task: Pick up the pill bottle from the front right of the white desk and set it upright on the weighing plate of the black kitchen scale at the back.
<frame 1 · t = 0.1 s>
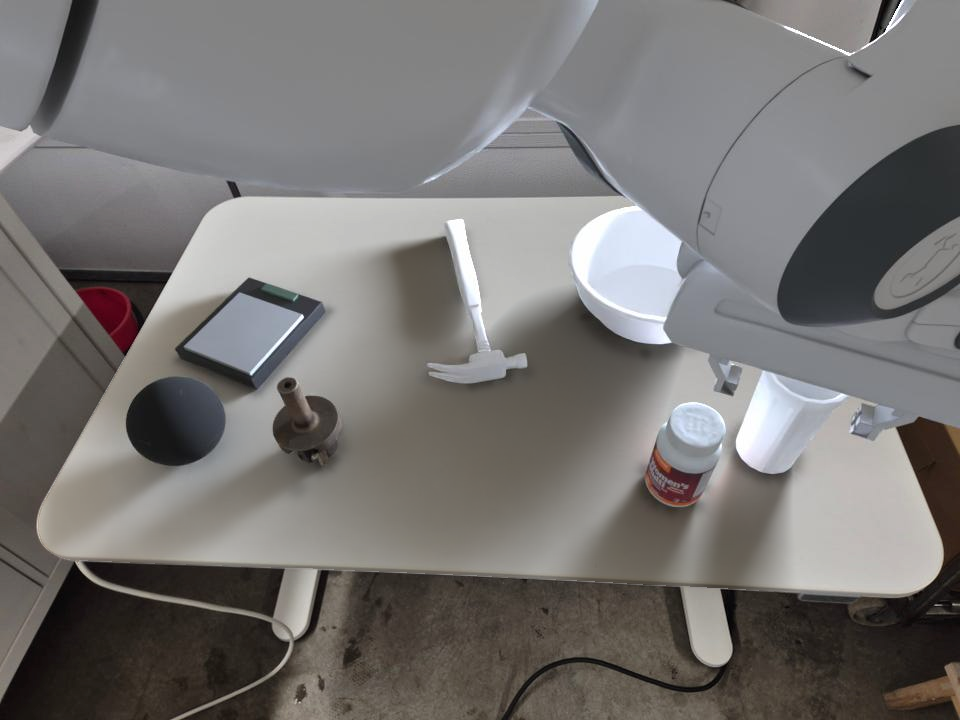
hand: (790, 408, 45), 22 cm above the table, tool pointing down, fingers open, 8 cm apart
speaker: (196, 445, 72), on the table
industrial component: (316, 454, 71), on the table
hammer: (461, 301, 86), on the table
pill bottle: (673, 484, 66), on the table
scale: (254, 334, 83), on the table
cup: (763, 451, 68), on the table
bowl: (647, 307, 83), on the table
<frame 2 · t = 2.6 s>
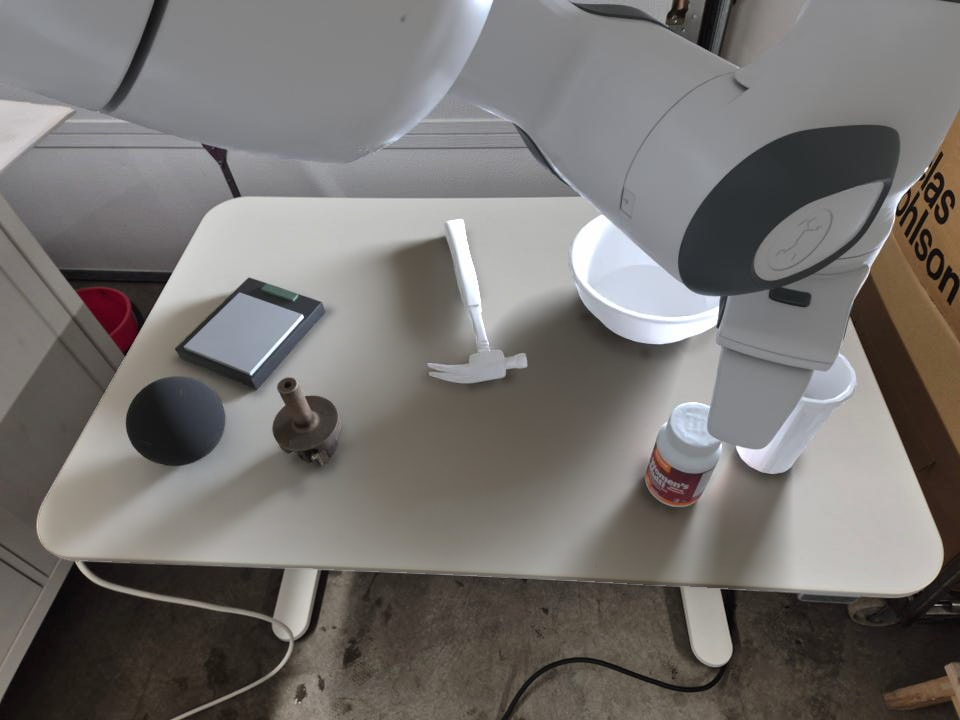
hand: (734, 381, 50), 20 cm above the table, tool pointing down, fingers open, 8 cm apart
nothing on the table moved.
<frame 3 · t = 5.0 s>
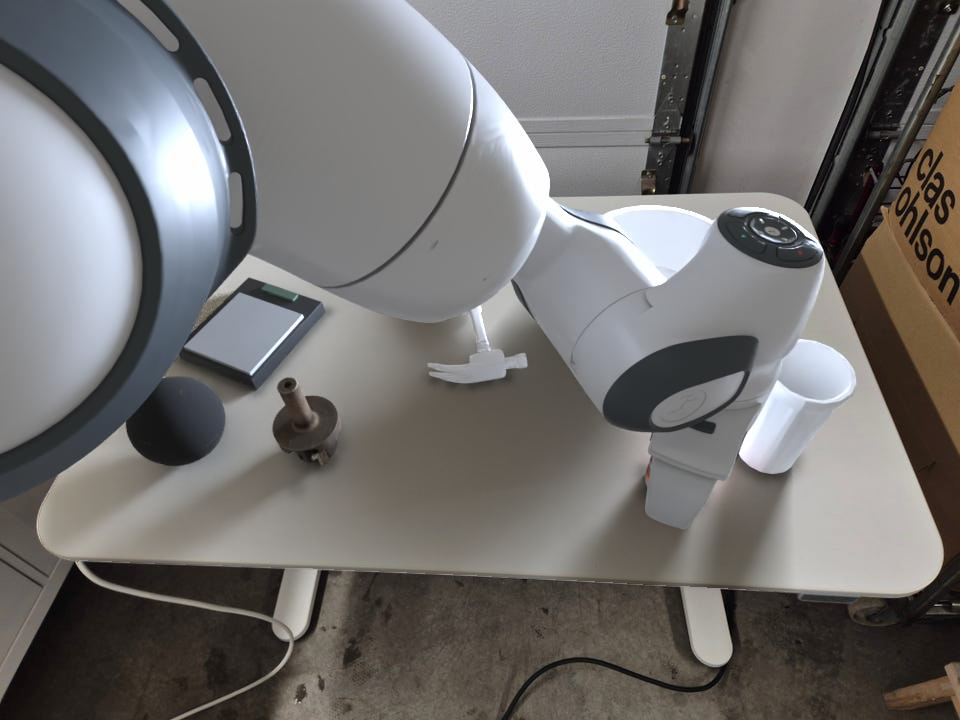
hand: (680, 463, 63), 4 cm above the table, tool pointing down, fingers closed on pill bottle, 6 cm apart
pill bottle: (673, 484, 66), on the table, touching gripper
everything else where it was.
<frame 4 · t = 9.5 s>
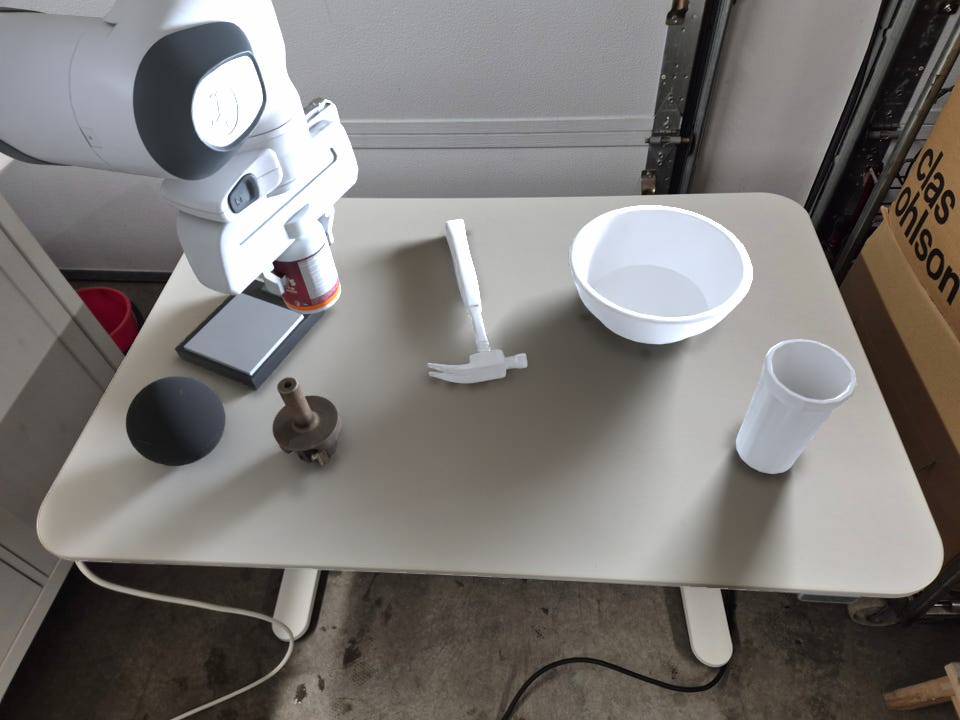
hand: (302, 266, 63), 19 cm above the table, tool pointing down, fingers closed on pill bottle, 6 cm apart
pill bottle: (314, 297, 66), point 15 cm above the table, touching gripper
everything else where it was.
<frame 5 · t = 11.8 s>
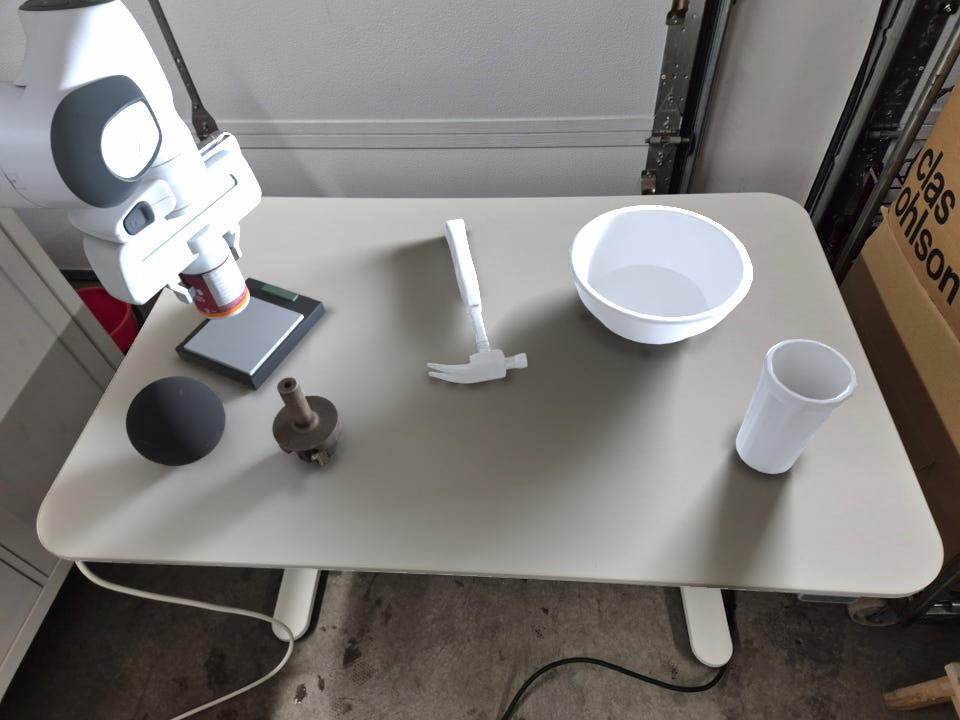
hand: (211, 278, 71), 14 cm above the table, tool pointing down, fingers closed on pill bottle, 6 cm apart
pill bottle: (226, 304, 74), point 9 cm above the table, touching gripper
everything else where it was.
when the fingers open (7 cm above the table, at t = 14.0 s): pill bottle stays where it is, resting on scale.
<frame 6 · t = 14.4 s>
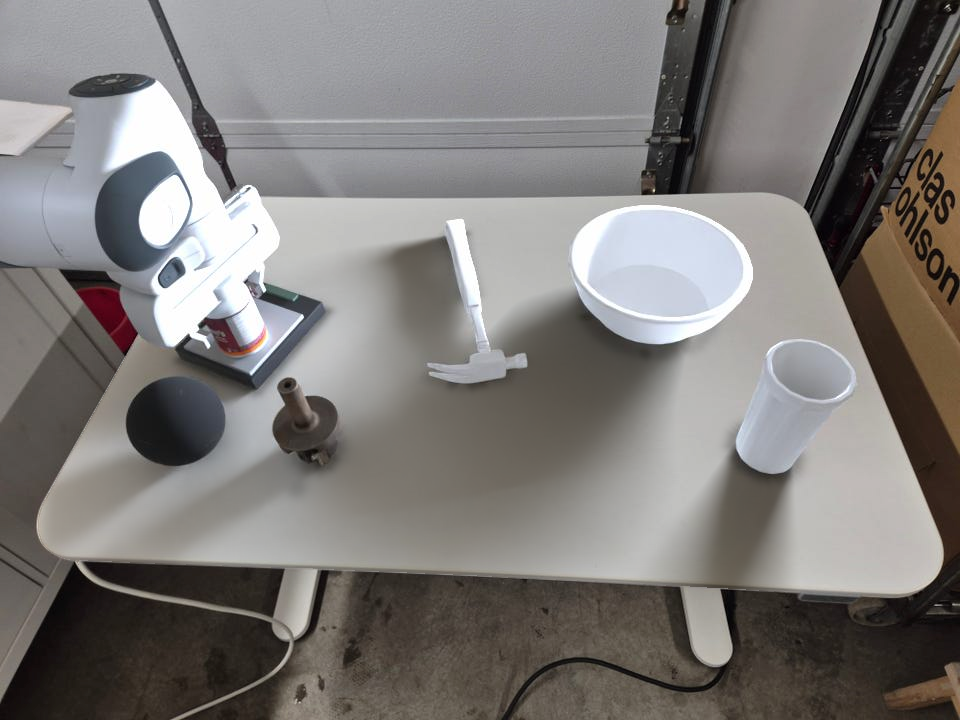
hand: (233, 318, 76), 7 cm above the table, tool pointing down, fingers open, 8 cm apart
pill bottle: (245, 342, 79), point 2 cm above the table, touching scale
everything else where it was.
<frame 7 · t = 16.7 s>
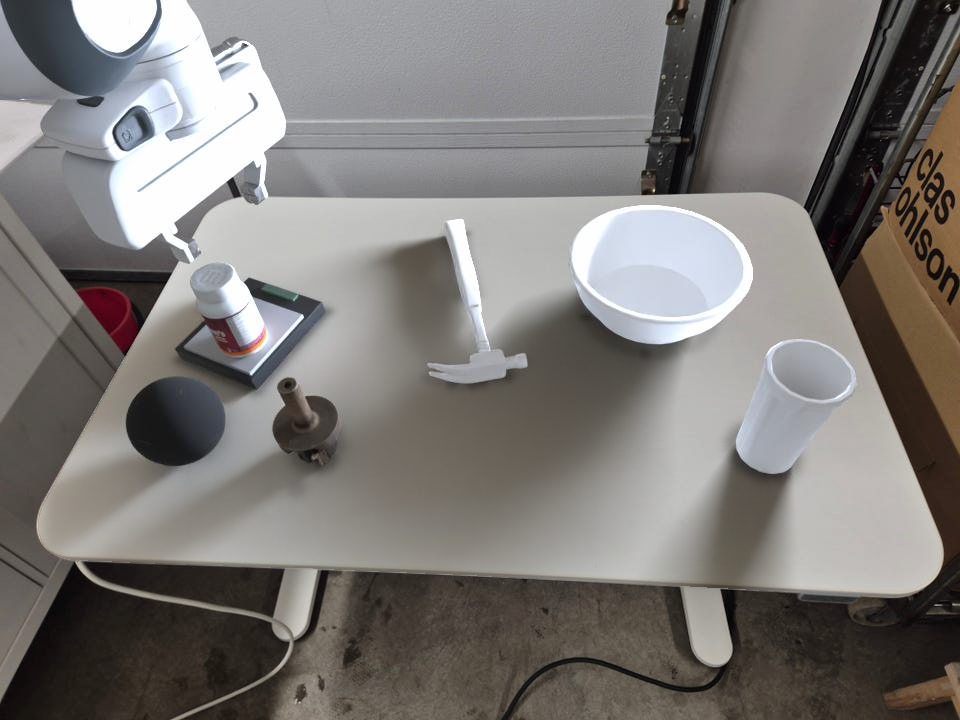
hand: (225, 227, 57), 25 cm above the table, tool pointing down, fingers open, 8 cm apart
nothing on the table moved.
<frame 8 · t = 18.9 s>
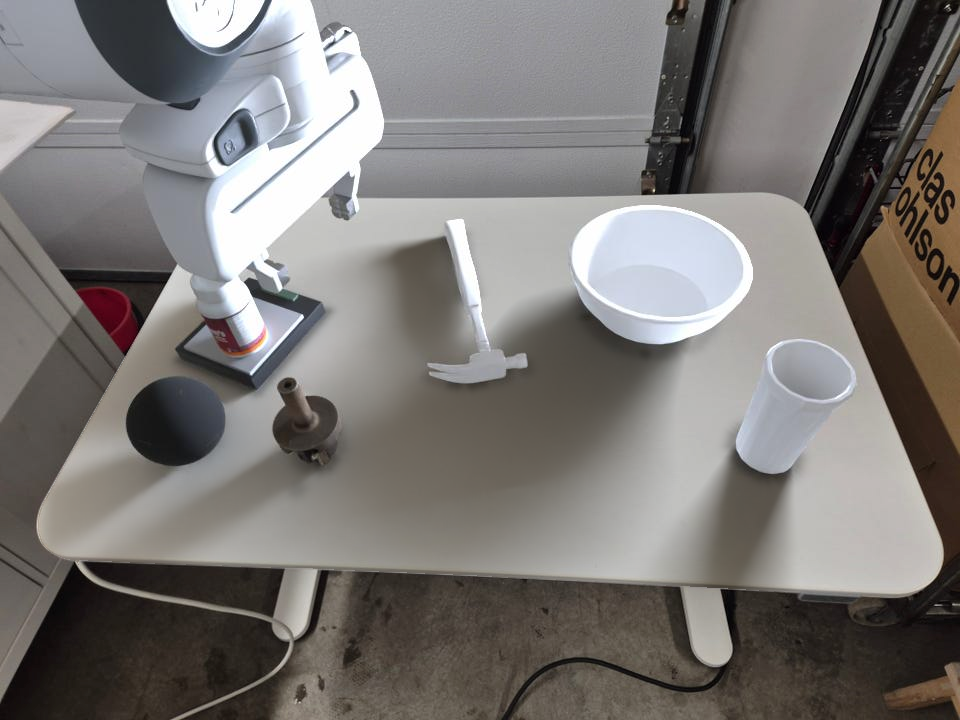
hand: (313, 248, 49), 29 cm above the table, tool pointing down, fingers open, 8 cm apart
nothing on the table moved.
at the end: pill bottle inside the target area on the scale (1.2 cm from its centre), point 2.4 cm above the scale's base; pill bottle tilted 0°; the gripper is holding nothing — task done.
